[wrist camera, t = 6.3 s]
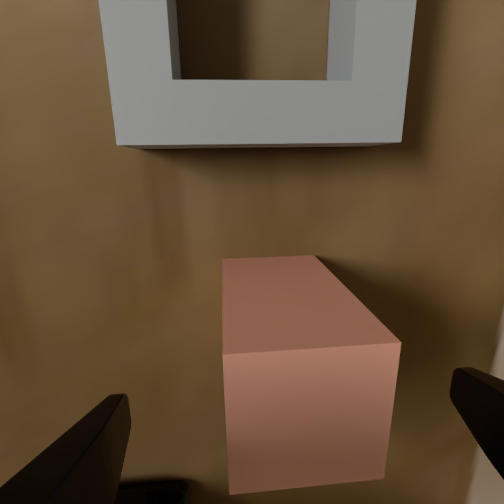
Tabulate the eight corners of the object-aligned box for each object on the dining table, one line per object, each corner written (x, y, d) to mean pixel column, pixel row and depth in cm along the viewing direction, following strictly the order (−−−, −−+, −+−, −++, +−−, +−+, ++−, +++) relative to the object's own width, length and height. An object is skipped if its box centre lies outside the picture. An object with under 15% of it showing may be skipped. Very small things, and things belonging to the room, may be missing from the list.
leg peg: (310, 336, 15) (383, 478, 8) (226, 341, 15) (229, 494, 8) (314, 255, 14) (401, 342, 7) (222, 259, 13) (223, 354, 7)
